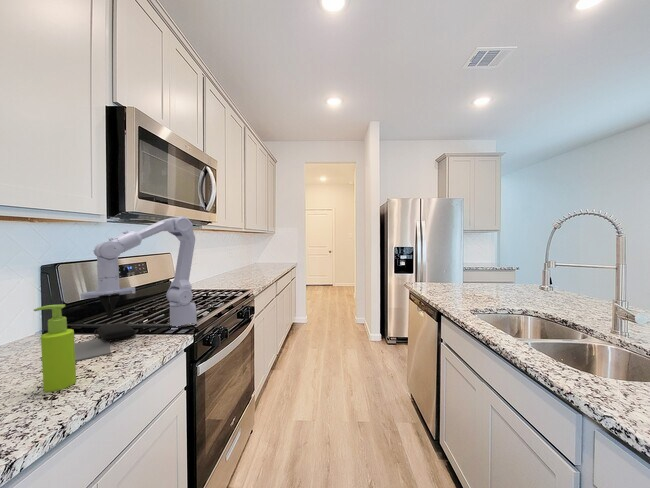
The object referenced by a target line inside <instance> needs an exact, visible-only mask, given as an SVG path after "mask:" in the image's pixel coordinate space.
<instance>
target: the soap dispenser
mask: <svg viewBox="0 0 650 488" xmlns="http://www.w3.org/2000/svg"><path fill="white" fill-rule="evenodd" d="M64 308H66V303H65V304H62V303H61V304H49V305H43V306H40V307H37V308H34V309H33V311H34V312H39V311H42V310H51V318H49V319H47V332H45V333H43V334H41V336H40V344H41V347H40V348H41V363H42V366H41V367H42V368H41V369H42V383H43V384H42V387H43V392H47V393H49V392H58V391H61V390H63V389H66V388H69V387H71V386H73V385H74V384H76V383H77V371H76V370H77V369H76V367H77V366H76V362H75V345H74V343H75V331H74V329H72V328H68V321H67V319H68V318H67V316H63V315H62V314H63V312H62V309H64Z"/></svg>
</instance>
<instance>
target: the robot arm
mask: <svg viewBox="0 0 650 488" xmlns="http://www.w3.org/2000/svg"><path fill="white" fill-rule="evenodd" d="M193 225H194V224H193V223H192V221H190V219H189V218H188V217H186V216H179V217H168V218H167V219H162V220H159V221H157V222H155V223H153V224H151V225H149V226H146V227H144V228H143V229H142V228H141V229H140V230H138V231H133V230H129V231H128V230H124V231H123V232H122V234H119V235H117V236H115V237H109V238H108V241H101V242H99V243H97V244H96V245H95V246H94V250H92V251H93V254H94V255H95V257H96V262H97V264H96V271H97V272H96V273H97V276H96V277H97V290H93V291H92V290H91V291H87V292H86V291H85V292H84V291H83V292H80V300H87V299H94V298H98V299H99V302H100V303H101V305H102V306H103V309H104V310H105V313H106V316H107V319H112V318H114V311H115V308H116V305H117V303H118V302H119V299H120V295H122V296H123V295H128V294H133V295H134V294H136V287H135V286H133V287H132V286H130V287H120V271H119V270H120V267H119V257H120V256H121V254H123V253H125V252H127V251H129V250H131V249H134V248H135V247H138V246H140V245H141V243H142V241H143V240H145V239H146V238H149V237H151V236H155V235H156V234H159V233H161V232H168V233H169V234H171V235H173V236H175V237H176V238H177V239H178V241H179V248H178V254H177V259H176V267H175V271H174V272H175V273H174V279H173V280H172V281H171V283H170V284H169V285H170V286H169V288H168V290H167V291H166V299H167V301H168V302H169V322H170V323H169V324H170V325H172V326H176V327H178V326H181V325H184V324H187V323H197V324H198V322H197V320H198V319H197V318H198V317H197V306H196V303H195V302H192V300H193V292H192V288H193V287H192V284H191V282H190V276H191V269H192V268H191V267H192V263H193V258H194V250H195V244H196V236H195V233H194V229H193V227H194V226H193ZM170 330H171V331H175V330H179V329H178V328H171V329H170Z"/></svg>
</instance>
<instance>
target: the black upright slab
mask: <svg viewBox="0 0 650 488" xmlns="http://www.w3.org/2000/svg"><path fill="white" fill-rule="evenodd" d="M93 333H94V335H96V334H97V335H98V336H99V337H100V338H102V339H103V340H106V341H109V342H113V341H119V340H123V339H129V338H133V337H134V336H135V335H136V334H137V332H136V330H135V329H134V328H133V327H131V326H130V325H128V324H127V323H125V322H120V323H113V324H107V325H102V326H98V328H96V329H95V330H94V332H93Z"/></svg>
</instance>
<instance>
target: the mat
mask: <svg viewBox="0 0 650 488" xmlns="http://www.w3.org/2000/svg"><path fill="white" fill-rule="evenodd" d="M74 345H75V363H76V362H79V361H80V362H81V361H83V360H89V359H94V358H98V357H102V356H107V355H111V354H112V350H111V341H106V340H103V339H102V338H101V337H100V338H95V339H91V340H86V341H81V342H74Z"/></svg>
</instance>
